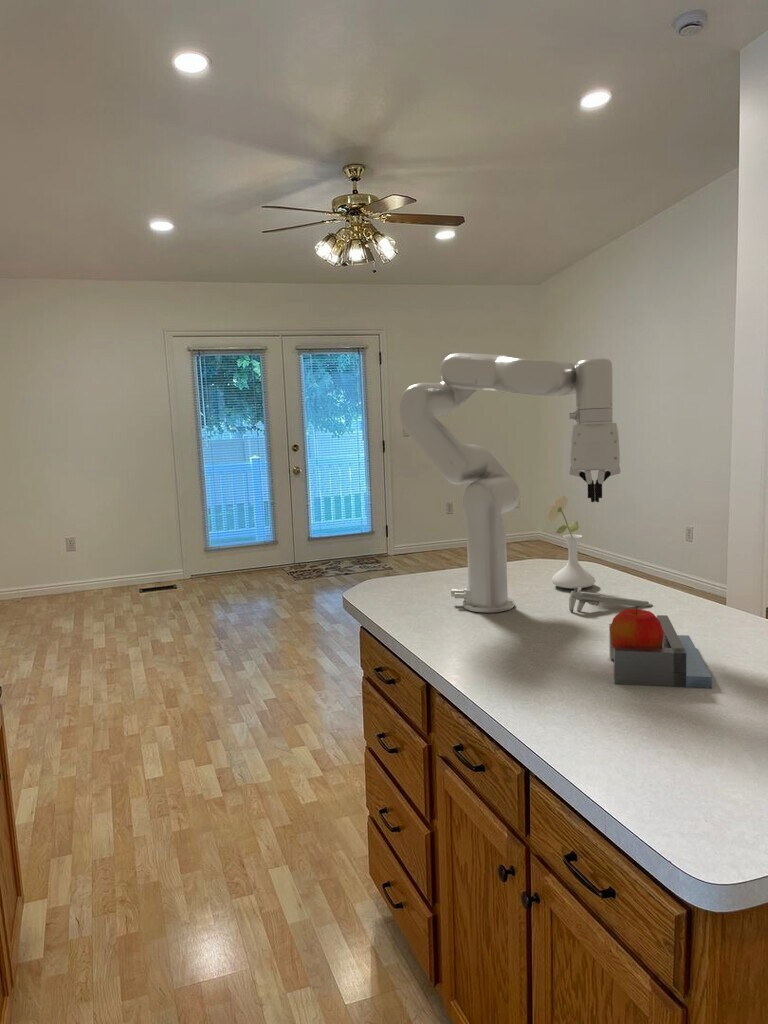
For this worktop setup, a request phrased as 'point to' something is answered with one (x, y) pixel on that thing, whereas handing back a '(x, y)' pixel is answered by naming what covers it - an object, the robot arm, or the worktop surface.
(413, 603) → the worktop surface
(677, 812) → the worktop surface
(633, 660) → the bracket
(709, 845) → the worktop surface
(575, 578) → the flower in vase
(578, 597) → the caliper
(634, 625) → the apple
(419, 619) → the worktop surface
